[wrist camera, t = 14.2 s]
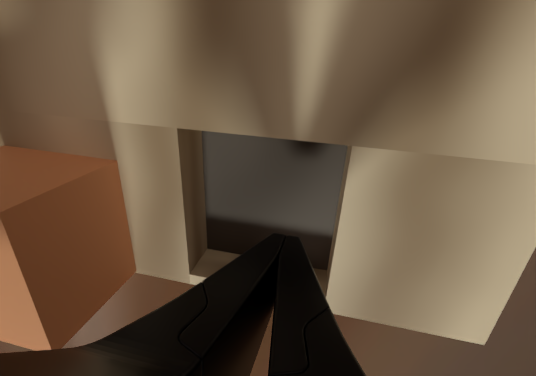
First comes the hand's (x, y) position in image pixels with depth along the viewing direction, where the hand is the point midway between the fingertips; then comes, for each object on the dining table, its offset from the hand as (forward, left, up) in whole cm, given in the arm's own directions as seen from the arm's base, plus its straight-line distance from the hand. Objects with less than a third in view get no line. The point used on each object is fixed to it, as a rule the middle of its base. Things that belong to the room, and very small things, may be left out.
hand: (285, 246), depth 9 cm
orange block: (+9, +1, -1) cm, 9 cm away
